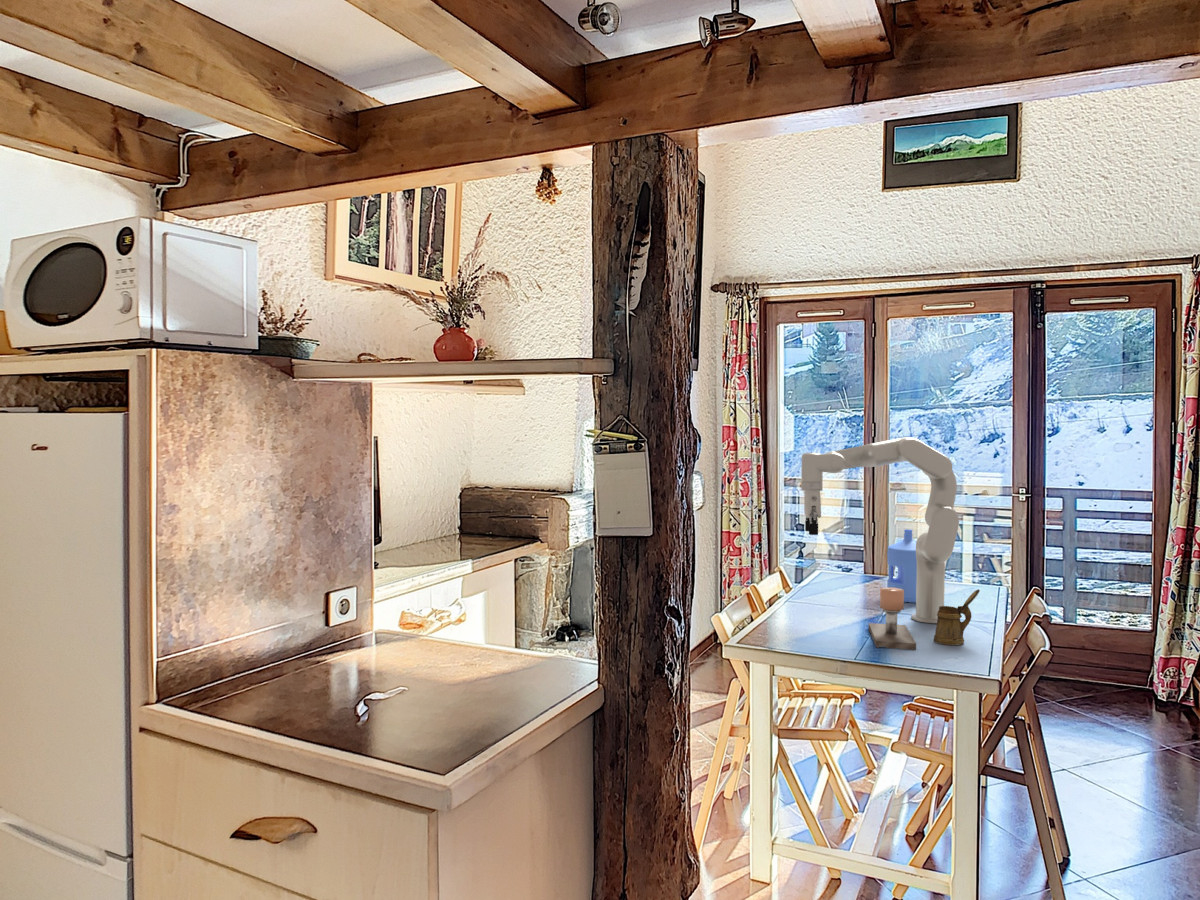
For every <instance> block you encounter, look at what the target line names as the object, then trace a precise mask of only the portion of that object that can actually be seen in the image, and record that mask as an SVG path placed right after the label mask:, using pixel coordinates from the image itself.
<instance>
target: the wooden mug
mask: <svg viewBox="0 0 1200 900" xmlns="http://www.w3.org/2000/svg"><path fill="white" fill-rule="evenodd" d="M979 593H980V589H976V590H974V591H973V592H972V593H971V594H970V595H969V596H968V598H967V599H966V600H965V601H964V603H963V605H958V606H957V607H955V606H950V605H944V606H940V607H939V611H938V613H937V616H938V619H937V623H936V626H935V632H934V635H933V642H934V643H937V644H941V645H946V646H961V645H963V644H964V642H965V638H964V631H965V630H966V629H967V626H968V625H969V624H970V622H971V620H972V611H971V609H970V608H969V605H970V604H971V603H972V602H973V601H974V600H975V599H976V598H977V596H978V595H979ZM962 615H964V617H965V619H964V620H963V621H961V618H963V616H962Z"/></svg>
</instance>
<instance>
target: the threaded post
mask: <svg viewBox="0 0 1200 900" xmlns="http://www.w3.org/2000/svg"><path fill="white" fill-rule="evenodd" d="M901 611H902V610H886V609H882V612H885V624H886V633H888V634H897V625H898V614H899V613H901Z"/></svg>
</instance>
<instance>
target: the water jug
mask: <svg viewBox="0 0 1200 900" xmlns="http://www.w3.org/2000/svg"><path fill="white" fill-rule="evenodd" d="M903 531H904V532H903V533H904V534H903V539H902V540H900V541H897V542H895V543H893V544H890V545H888V547H887V553H886V555H887V565H888V579H887V581H886V588H887V587H888V588H899V589H903V590H904V603H906V602H909V603H908V604H916V578H917V560H916V542H917V541H914V540H913V529H903ZM894 567H897V576H896V577H894Z"/></svg>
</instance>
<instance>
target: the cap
mask: <svg viewBox="0 0 1200 900" xmlns="http://www.w3.org/2000/svg"><path fill="white" fill-rule="evenodd" d="M904 603H905V602H904V590H903V589H899V588H888V587H887V586H886V587H881V588H880V589H879V608H880V609H882V610H883V609H886V610H901V611H903V610H905V609H904V607H905V605H904Z"/></svg>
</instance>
